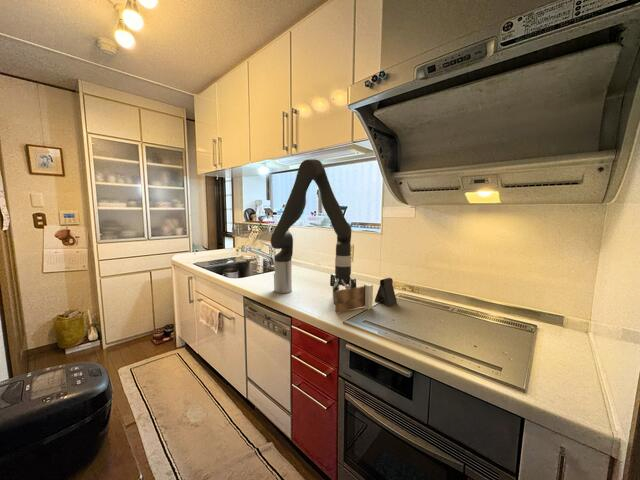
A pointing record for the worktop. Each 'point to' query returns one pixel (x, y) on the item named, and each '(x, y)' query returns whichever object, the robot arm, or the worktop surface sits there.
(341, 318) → the worktop surface
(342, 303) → the door
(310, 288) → the worktop surface
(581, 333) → the worktop surface
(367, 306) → the hinge post
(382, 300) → the door stopper
